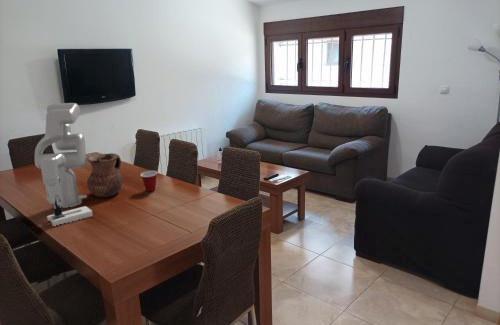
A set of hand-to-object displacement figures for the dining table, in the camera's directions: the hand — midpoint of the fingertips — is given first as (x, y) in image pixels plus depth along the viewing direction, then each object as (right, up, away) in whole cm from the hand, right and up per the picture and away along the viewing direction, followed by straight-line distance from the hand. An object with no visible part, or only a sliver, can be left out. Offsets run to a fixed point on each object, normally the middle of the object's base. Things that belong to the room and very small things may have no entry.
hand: (57, 213), depth 195 cm
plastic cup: (+36, +9, +47) cm, 60 cm away
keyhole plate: (+5, -3, +5) cm, 8 cm away
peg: (0, -4, +1) cm, 4 cm away
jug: (+9, +7, +43) cm, 45 cm away
